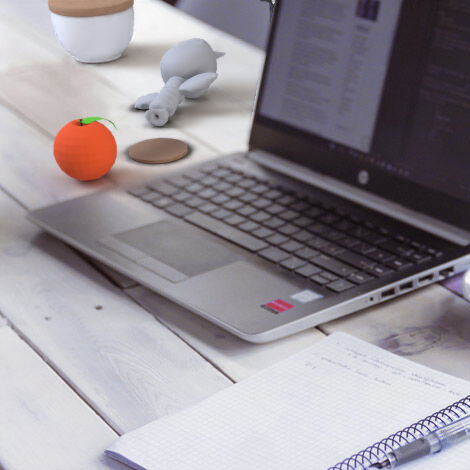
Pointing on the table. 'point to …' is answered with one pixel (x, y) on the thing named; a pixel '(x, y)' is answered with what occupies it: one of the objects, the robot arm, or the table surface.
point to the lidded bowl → (93, 27)
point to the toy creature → (181, 79)
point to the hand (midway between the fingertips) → (281, 29)
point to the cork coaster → (158, 150)
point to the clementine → (85, 149)
